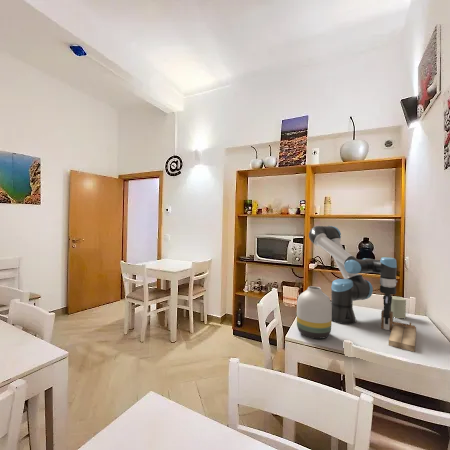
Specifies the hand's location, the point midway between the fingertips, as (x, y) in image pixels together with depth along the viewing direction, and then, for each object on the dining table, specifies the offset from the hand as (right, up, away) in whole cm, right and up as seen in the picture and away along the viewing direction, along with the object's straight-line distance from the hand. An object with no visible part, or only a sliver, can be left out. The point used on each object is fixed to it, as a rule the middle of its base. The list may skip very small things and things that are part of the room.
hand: (387, 327), depth 145 cm
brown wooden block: (+4, 0, -3) cm, 5 cm away
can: (+18, -1, +19) cm, 26 cm away
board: (0, 0, -13) cm, 13 cm away
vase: (-44, 0, -10) cm, 45 cm away
